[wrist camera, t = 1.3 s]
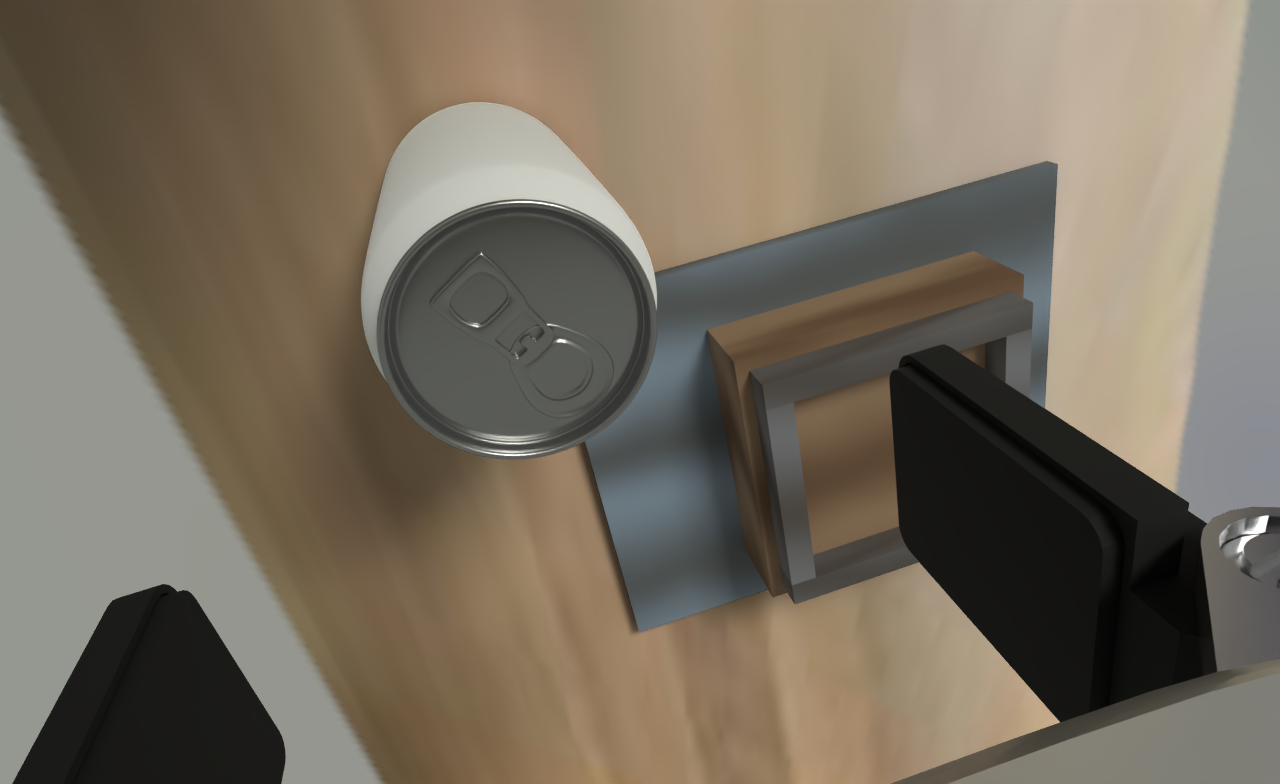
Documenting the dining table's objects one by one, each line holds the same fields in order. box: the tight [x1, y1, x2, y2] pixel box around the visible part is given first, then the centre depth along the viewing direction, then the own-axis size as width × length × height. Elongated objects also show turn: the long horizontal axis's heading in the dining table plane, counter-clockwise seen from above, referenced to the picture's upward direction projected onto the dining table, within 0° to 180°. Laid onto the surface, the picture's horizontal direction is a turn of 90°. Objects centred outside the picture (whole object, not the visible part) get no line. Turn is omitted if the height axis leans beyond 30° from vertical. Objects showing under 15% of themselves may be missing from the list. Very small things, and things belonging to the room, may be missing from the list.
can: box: [361, 102, 657, 459], centre depth 21 cm, size 6×6×12 cm
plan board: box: [585, 161, 1058, 632], centre depth 31 cm, size 16×20×5 cm
